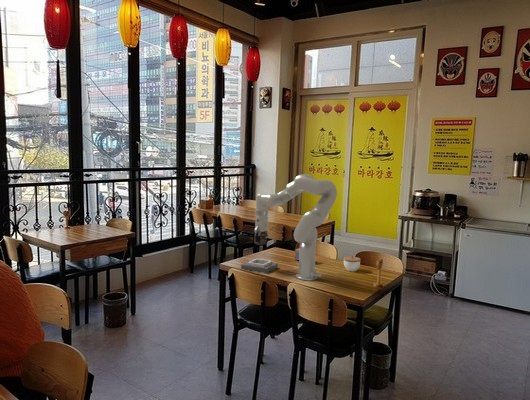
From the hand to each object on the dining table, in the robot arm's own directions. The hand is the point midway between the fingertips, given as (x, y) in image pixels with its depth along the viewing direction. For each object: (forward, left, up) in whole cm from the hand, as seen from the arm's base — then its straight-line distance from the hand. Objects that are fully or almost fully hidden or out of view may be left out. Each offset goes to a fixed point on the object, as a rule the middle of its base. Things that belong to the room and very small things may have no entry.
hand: (260, 240), depth 255 cm
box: (0, 0, -2) cm, 2 cm away
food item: (-17, -33, -19) cm, 42 cm away
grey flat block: (+1, -1, -18) cm, 18 cm away
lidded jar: (-51, -29, -19) cm, 62 cm away
